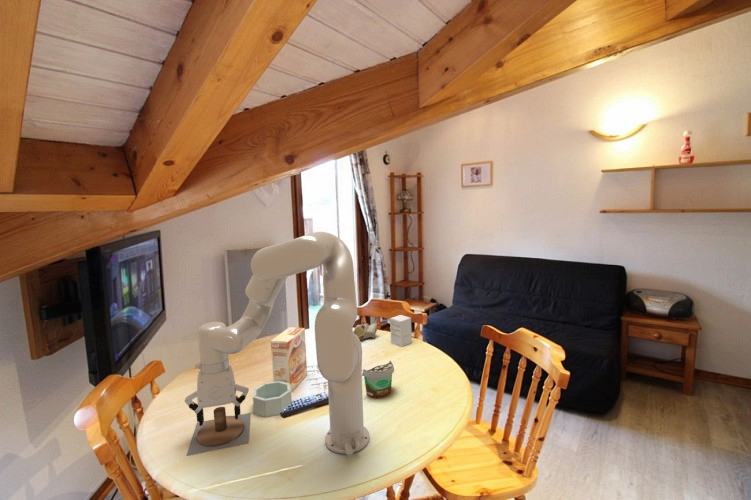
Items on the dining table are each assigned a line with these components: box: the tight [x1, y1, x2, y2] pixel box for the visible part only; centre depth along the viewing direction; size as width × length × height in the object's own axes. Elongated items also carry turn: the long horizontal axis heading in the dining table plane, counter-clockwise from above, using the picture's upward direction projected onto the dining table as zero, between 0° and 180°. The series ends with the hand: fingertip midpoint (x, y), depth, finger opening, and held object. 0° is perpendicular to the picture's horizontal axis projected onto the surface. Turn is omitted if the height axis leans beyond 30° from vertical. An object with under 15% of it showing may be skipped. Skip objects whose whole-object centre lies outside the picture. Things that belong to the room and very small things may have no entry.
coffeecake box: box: [270, 326, 308, 393], centre depth 137 cm, size 15×7×20 cm, turn 167°
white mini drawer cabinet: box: [389, 314, 413, 348], centre depth 173 cm, size 7×7×13 cm
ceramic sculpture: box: [353, 321, 378, 341], centre depth 181 cm, size 11×9×15 cm
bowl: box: [252, 381, 293, 418], centre depth 121 cm, size 12×12×6 cm
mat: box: [185, 412, 252, 457], centre depth 108 cm, size 16×16×1 cm
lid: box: [197, 406, 245, 447], centre depth 107 cm, size 13×13×7 cm
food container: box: [362, 360, 395, 399], centre depth 127 cm, size 12×6×10 cm, turn 123°
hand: (219, 420), depth 107 cm, fingers open, 9 cm apart
